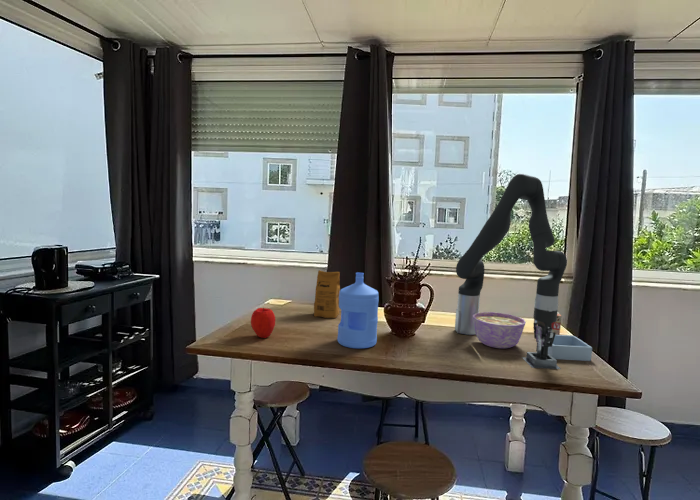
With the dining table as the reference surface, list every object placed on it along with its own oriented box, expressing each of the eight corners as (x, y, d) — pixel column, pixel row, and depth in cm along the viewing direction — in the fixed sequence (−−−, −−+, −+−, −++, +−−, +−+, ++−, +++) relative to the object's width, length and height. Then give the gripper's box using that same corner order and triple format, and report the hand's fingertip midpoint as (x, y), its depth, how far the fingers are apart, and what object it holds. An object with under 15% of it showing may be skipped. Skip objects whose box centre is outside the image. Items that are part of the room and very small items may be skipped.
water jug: (356, 334, 182) (359, 268, 179) (384, 343, 171) (388, 274, 168) (329, 341, 171) (331, 271, 168) (357, 352, 160) (360, 278, 157)
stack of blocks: (532, 328, 201) (535, 302, 200) (547, 329, 200) (549, 303, 199) (543, 342, 181) (545, 313, 179) (559, 344, 179) (561, 315, 178)
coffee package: (317, 311, 216) (318, 268, 213) (341, 314, 213) (343, 270, 210) (310, 316, 206) (312, 271, 204) (335, 319, 203) (337, 273, 201)
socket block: (531, 370, 149) (532, 360, 148) (521, 359, 159) (522, 350, 158) (561, 371, 148) (562, 362, 148) (549, 361, 158) (549, 352, 158)
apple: (245, 336, 173) (245, 306, 172) (265, 331, 181) (266, 303, 179) (259, 342, 167) (260, 311, 165) (280, 337, 174) (280, 307, 172)
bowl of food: (465, 337, 183) (467, 311, 182) (513, 339, 182) (515, 313, 181) (478, 354, 163) (480, 324, 162) (531, 356, 163) (534, 326, 161)
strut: (536, 364, 151) (540, 327, 150) (532, 360, 156) (535, 324, 154) (549, 365, 151) (553, 328, 150) (544, 361, 156) (548, 324, 154)
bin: (551, 361, 158) (553, 345, 158) (537, 348, 172) (538, 333, 171) (590, 363, 158) (592, 347, 157) (572, 350, 172) (574, 335, 171)
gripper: (527, 302, 158) (523, 347, 160) (543, 311, 144) (538, 361, 146) (548, 303, 158) (544, 348, 160) (565, 312, 144) (561, 362, 146)
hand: (541, 354), depth 153 cm, fingers closed on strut, 3 cm apart
